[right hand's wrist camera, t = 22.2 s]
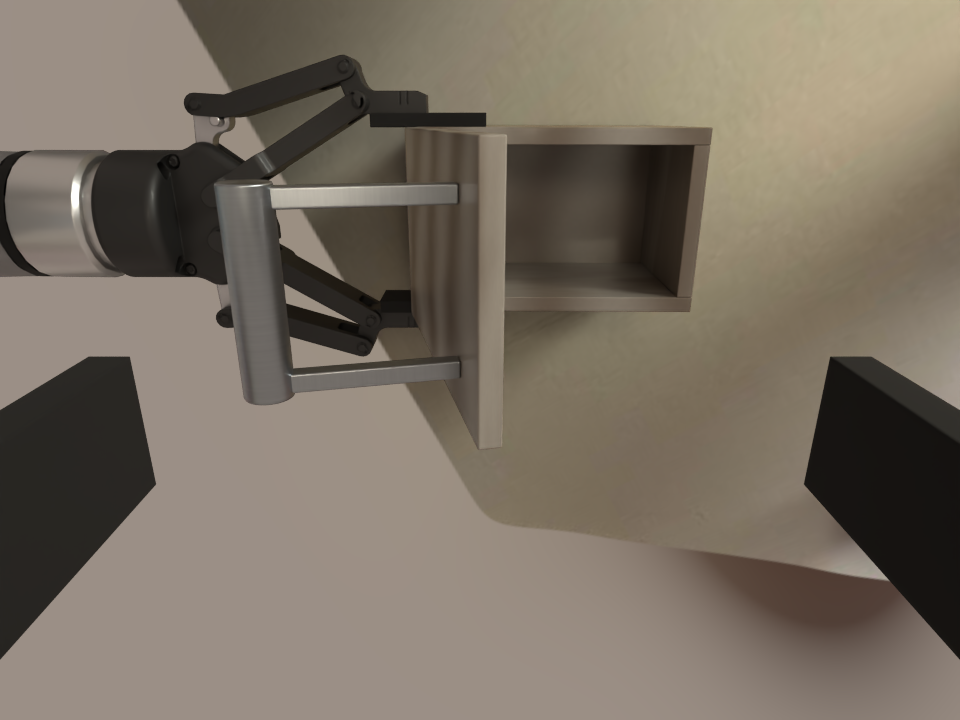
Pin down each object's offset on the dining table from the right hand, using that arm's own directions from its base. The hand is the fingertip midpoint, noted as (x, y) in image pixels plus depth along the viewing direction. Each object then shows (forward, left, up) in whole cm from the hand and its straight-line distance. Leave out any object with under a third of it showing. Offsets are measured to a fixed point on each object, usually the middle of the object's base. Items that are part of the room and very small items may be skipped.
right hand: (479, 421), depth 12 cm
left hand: (0, 0, -28) cm, 29 cm away
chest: (0, +4, -35) cm, 36 cm away
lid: (0, -1, -17) cm, 17 cm away
